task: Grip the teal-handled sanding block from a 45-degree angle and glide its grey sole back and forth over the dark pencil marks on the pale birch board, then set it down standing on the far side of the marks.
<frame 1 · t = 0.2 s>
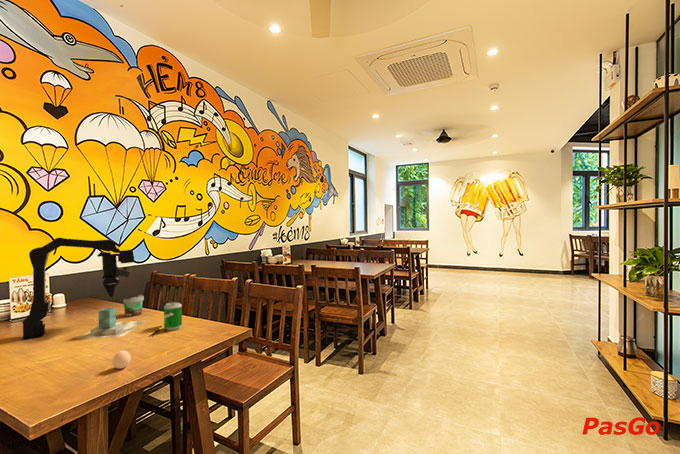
hand: (111, 295, 155), 14 cm above the table, tool pointing down, fingers open, 9 cm apart
soda can: (173, 329, 147), on the table
food container: (136, 315, 171), on the table
sanding block: (107, 332, 138), point 1 cm above the table, touching birch board
birch board: (114, 332, 143), on the table
egg: (121, 368, 106), on the table
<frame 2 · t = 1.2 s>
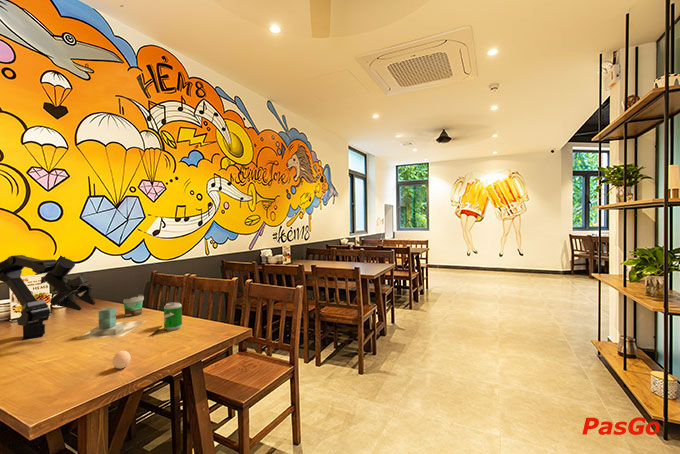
hand: (87, 306, 137), 13 cm above the table, tool tilted 45°, fingers open, 9 cm apart
nothing on the table moved.
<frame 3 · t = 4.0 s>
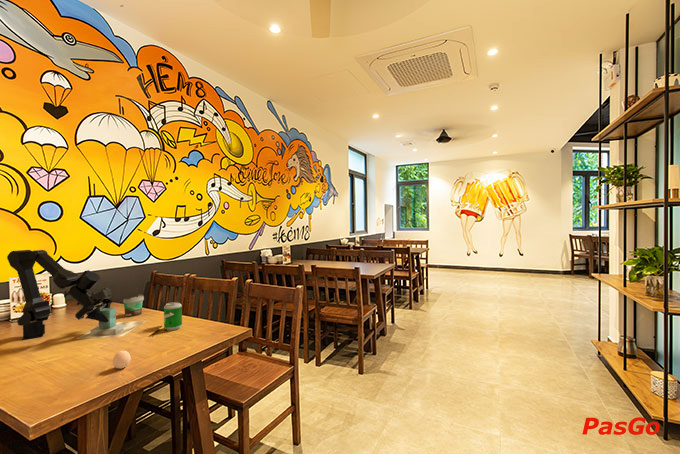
hand: (110, 320, 138), 7 cm above the table, tool tilted 45°, fingers closed on sanding block, 4 cm apart
sanding block: (107, 332, 138), point 1 cm above the table, touching birch board, gripper
everything else where it was.
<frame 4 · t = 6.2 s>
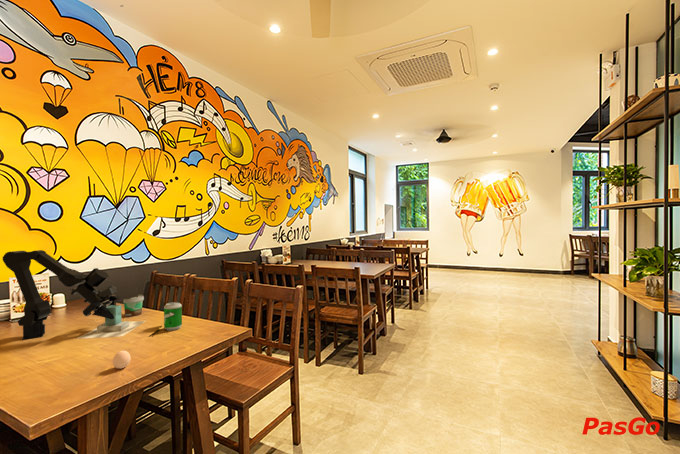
hand: (116, 317, 142), 7 cm above the table, tool tilted 45°, fingers closed on sanding block, 4 cm apart
sanding block: (113, 329, 142), point 2 cm above the table, touching gripper
everything else where it was.
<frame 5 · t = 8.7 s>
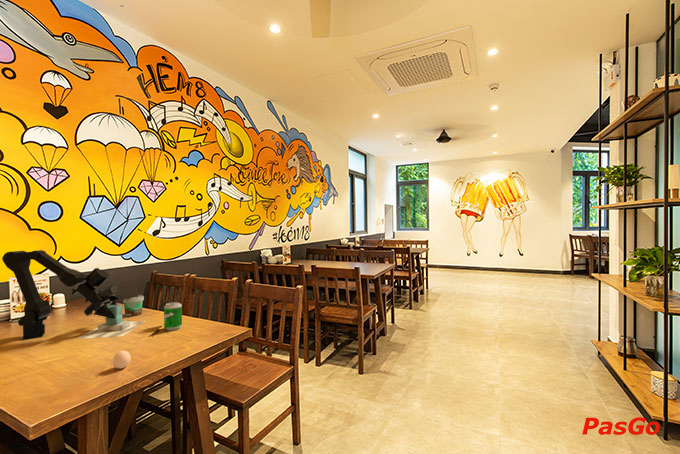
hand: (117, 316, 143), 7 cm above the table, tool tilted 45°, fingers closed on sanding block, 4 cm apart
sanding block: (114, 328, 143), point 2 cm above the table, touching gripper
everything else where it was.
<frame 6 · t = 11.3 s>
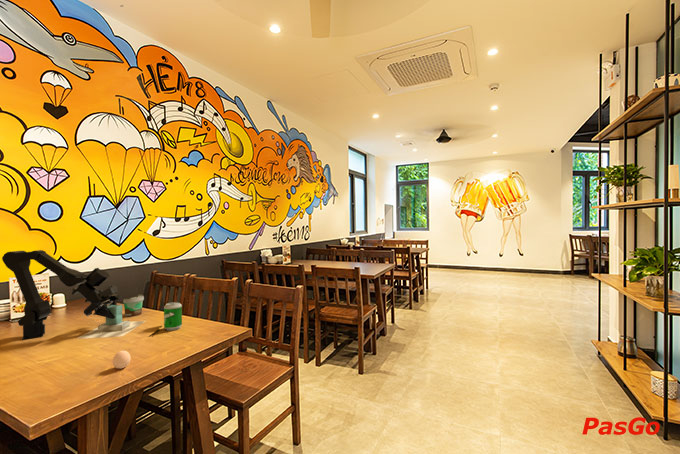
hand: (117, 316, 143), 7 cm above the table, tool tilted 45°, fingers closed on sanding block, 4 cm apart
sanding block: (114, 328, 143), point 2 cm above the table, touching gripper
everything else where it was.
when the fingers open (7 cm above the table, at t = 13.4 s): sanding block stays where it is, resting on birch board.
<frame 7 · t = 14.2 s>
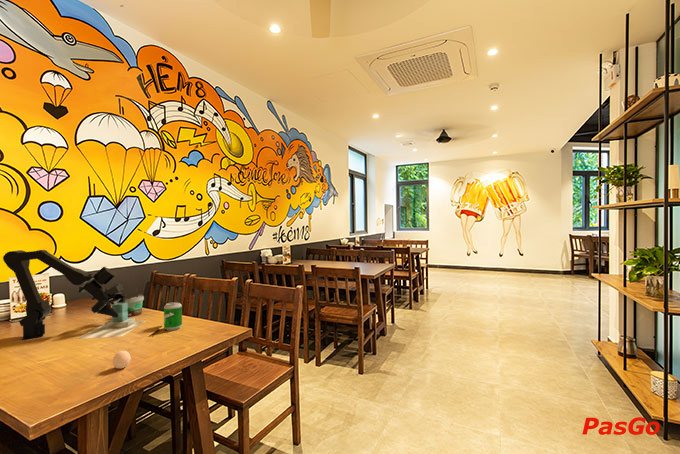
hand: (123, 313, 148), 7 cm above the table, tool tilted 45°, fingers open, 9 cm apart
sanding block: (120, 325, 147), point 1 cm above the table, touching birch board
everything else where it was.
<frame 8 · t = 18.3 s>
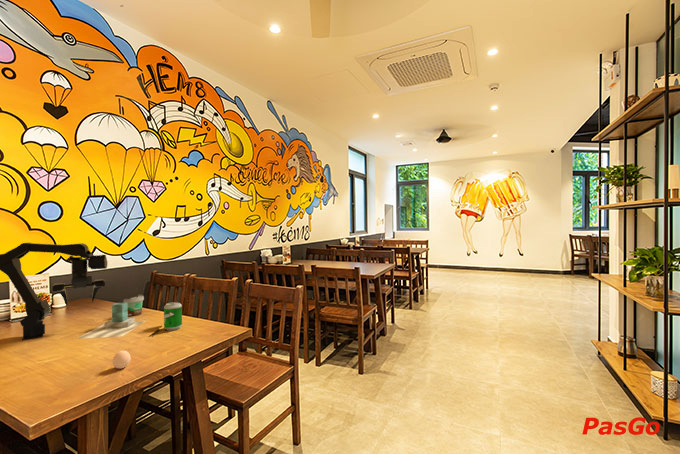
hand: (79, 303, 145), 13 cm above the table, tool pointing down, fingers open, 9 cm apart
nothing on the table moved.
at the end: sanding block 0.1 cm from the target spot on the birch board, point 1.5 cm above the birch board's base; sanding block tilted 0°; the gripper is holding nothing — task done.
